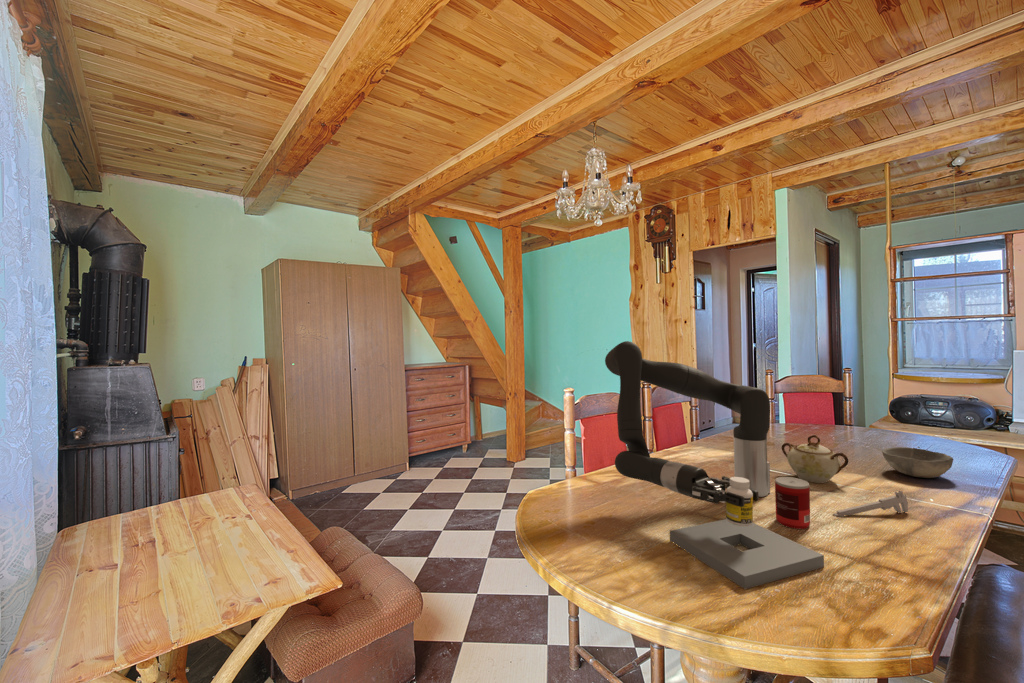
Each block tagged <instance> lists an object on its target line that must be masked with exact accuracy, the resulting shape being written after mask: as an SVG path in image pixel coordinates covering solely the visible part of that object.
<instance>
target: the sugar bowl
mask: <svg viewBox="0 0 1024 683" xmlns="http://www.w3.org/2000/svg"><path fill="white" fill-rule="evenodd" d="M812 438H813V439H814V438H816V439H817V442H811V439H812ZM820 443H821V439H820V437H819V436H818V435H817V434H812V435H810V436H808V438H807V443H802V444H797V445H795V444H792V443H790V442H784V443H783V444H782V445H781V452H782V453H783V454H784V456H785V457H786V459H787V462H788V465H789V466H790V468H791V470H793V472H794V473H795V474H796V476H797V478H798V479H802V480H804V481H807V482H808V483H814V484H823V483H828V482H829V481H830V480H831V479H832V478H833V477H834V476H835V475H838V474H839V473H840V472H841V471H842V470H843V469H844V468H845V467H847V465H848V464H849V459H848V456H847V455H846V454H845V453H844V452H837V453H836V452H834V451H833V450H832V449H830V448H828V447H825V446H823V445H821V444H820ZM787 446H788V447H789V449H788V452H787V451H786V450H785V448H786V447H787ZM839 457H842V458H843V459H844V462H843V464H842V465H841V460H840V458H839Z"/></svg>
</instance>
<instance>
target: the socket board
mask: <svg viewBox="0 0 1024 683" xmlns="http://www.w3.org/2000/svg"><path fill="white" fill-rule="evenodd" d="M671 541H672V542H674V543H675V544H677V545H678V546H677V545H676V546H677V547H679V546H680V547H681V548H680V547H679V548H680V549H682V548H683V549H685V550H686V551H687V552H686V551H685V550H684V551H685V552H686V553H688V552H689V553H690V554H689V553H688V554H689V555H691V554H692V555H691V556H693V557H694V556H695V557H694V558H696V559H697V560H699V561H701V562H702V563H703V564H705V565H706V566H708V567H710V568H711V569H713V570H714V571H716V572H717V573H719V574H720V575H722V576H724V577H725V578H727V579H729V580H730V581H731V582H734V583H735V584H737V585H738V586H739V587H740V588H743V589H744V590H747V589H751V588H753V587H754V588H755V587H757V586H761V585H765V584H769V583H771V582H775V581H778V580H782V579H786V578H789V577H794V576H796V575H800V574H803V573H808V572H810V571H815V570H818V569H822V568H824V567H825V557H824V556H825V555H824V554H822V553H820V552H818V551H816V550H813V549H811V548H809V547H807V546H805V545H802V544H800V543H799V542H796V541H794V540H791V539H790V538H788V537H785V536H783V535H780V534H779V533H777V532H774V531H772V530H770V529H768V528H766V527H763V526H761V525H759V524H757V523H755V522H752V525H750V526H738V525H734V524H732V523H730V522H728V521H727V519H726V518H724V519H719V520H714V521H710V522H706V523H705V522H704V523H700V524H696V525H691V526H687V527H682V528H677V529H672V530H669V542H671ZM672 542H671V543H672ZM674 543H673V544H674ZM675 544H674V545H675ZM738 544H739V545H742V546H744V547H745V548H747V550H746V549H745V550H743V551H742V550H740V549H738V548H737V547H735V546H739V545H738ZM734 545H735V546H734ZM683 549H682V550H683Z"/></svg>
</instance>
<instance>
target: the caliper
mask: <svg viewBox="0 0 1024 683" xmlns="http://www.w3.org/2000/svg"><path fill="white" fill-rule="evenodd" d="M894 494H895V495H891V496H888V497H884V498H879V499H878V500H877V501H874V502H870V503H865V504H861V505H857V506H852V507H847V508H844V509H840V510H836V512H834V513H832V516H833V515H834V517H835V516H837V517H845V516H844V515H849V516H853V515H856V514H857V515H858V514H861V513H865V512H868V511H874V510H877V509H881V510H883V511H886V510H889V509H892V508H893V510H895V512H896V511H897V512H899V513H902V512H903V511H904V512H909V505H908V504H909V503H908V502H909V501H908V498H907V496H906V495H905V494H904V492H903V491H901V490H899V491H898V492H897V491H894ZM901 509H902V510H901ZM897 512H896V513H897ZM904 512H903V513H904ZM899 513H898V514H899Z"/></svg>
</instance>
